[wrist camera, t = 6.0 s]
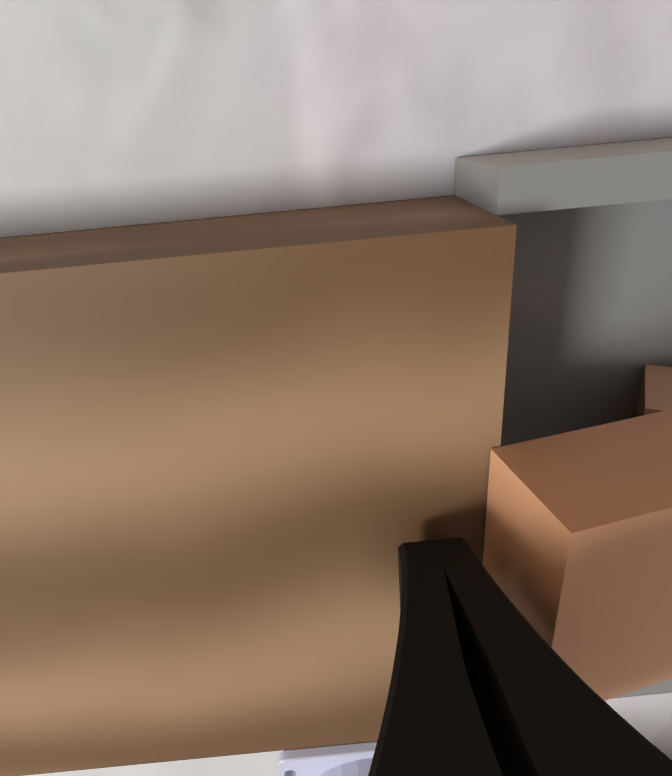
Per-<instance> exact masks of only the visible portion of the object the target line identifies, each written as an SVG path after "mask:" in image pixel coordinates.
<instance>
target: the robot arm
mask: <svg viewBox="0 0 672 776" xmlns="http://www.w3.org/2000/svg"><path fill="white" fill-rule="evenodd" d="M398 565H399V592H400V620H399V631H398V639H397V646H396V652H395V658H394V664H393V671H392V677H391V682H390V687H389V692H388V697H387V702H386V707H385V711H384V715H383V720H382V724H381V728H380V732H379V736H378V740H377V742H368V743H358V744H348V745H337V746H327V747H317V748H307V749H296V750H287V751H283V752H281V753H280V754H279V755H278V757H277V769H278V773H279V776H672V760H671V759H670V758H669V757H667V756H666V755H665V754H664V753H663V752H661V751H660V750H659V749H658V748H656V747H655V746H654V745H653V744H652V743H650V742H649V741H648V740H647V739H646V738H645V737H643V736H642V735H641V734H640V733H639V732H638V731H637V730H636V729H635V728H633V727H632V726H631V725H630V724H629V723H628V722H627V721H626V720H625V719H623V718H622V717H621V716H620V715H619V714H618V713H617V712H616V711H615V710H613V709H612V708H611V707H610V706H609V705H608V704H607V703H606V702H605V701H604V700H603V699H602V698H601V697H600V696H599V695H598V694H597V693H595V692H594V691H593V690H592V689H591V688H590V687H589V686H588V685H587V684H586V683H585V682H584V681H583V680H582V679H581V678H580V677H579V676H578V675H577V674H576V673H575V672H574V671H573V670H572V669H571V668H570V667H569V666H568V665H567V664H566V663H565V661H564V660H563V659H562V658H561V657H560V656H559V655H558V654H557V653H556V652H555V651H554V650H553V649H552V648H551V647H550V646H549V644H548V643H547V642H546V641H545V640H544V639H543V638H542V637H541V636H540V635H539V633H538V632H537V631H536V630H535V629H534V628H533V627H532V626H531V624H530V623H529V622H528V621H527V620H526V619H525V617H524V616H523V615H522V614H521V613H520V611H519V610H518V609H517V608H516V607H515V606H514V604H513V603H512V602H511V601H510V600H509V598H508V597H507V596H506V595H505V594H504V592H503V591H502V590H501V589H500V587H499V586H498V585H497V583H496V582H495V581H494V580H493V578H492V577H491V576H490V574H489V573H488V572H487V570H486V569H485V568H484V566H483V565H482V564H481V562H480V561H479V560H478V558H477V557H476V555H475V554H474V553H473V551H472V550H471V548H470V547H469V545H468V544H467V542H466V541H465V540H464V539H462V538H461V537H459V538H448V539H438V540H427V541H417V542H407V543H402V544H401V545H400V546H399V547H398Z"/></svg>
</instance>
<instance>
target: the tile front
mask: <svg viewBox="0 0 672 776" xmlns="http://www.w3.org/2000/svg"><path fill="white" fill-rule="evenodd" d="M482 565H483V566H484V568H485V569H486V570H487V572H488V573H489V574H490V576H491V577H492V578H493V580H494V581H495V582H496V583H497V585H498V586H499V587H500V589H501V590H502V591H503V592H504V594H505V595H506V596H507V597H508V598H509V600H510V601H511V602H512V603H513V604H514V606H515V607H516V608H517V609H518V610H519V611H520V613H521V614H522V615H523V616H524V617H525V619H526V620H527V621H528V622H529V623H530V624H531V626H532V627H533V628H534V629H535V630H536V631H537V632H538V633H539V635H540V636H541V637H542V638H543V639H544V640H545V641H546V642H547V643H548V644H549V646H550V647H551V648H552V649H553V650H554V651H555V652H556V653H557V654H558V655H559V656H560V657H561V658H562V659H563V660H564V661H565V663H566V664H567V665H568V666H569V667H570V668H571V669H572V670H573V671H574V672H575V673H576V674H577V675H578V676H579V677H580V678H581V679H582V680H583V681H584V682H585V683H586V684H587V685H588V686H589V687H590V688H591V689H592V690H593V691H594V692H595V693H597V694H598V695H599V696H600V697H601V698H602V699H603V700H604V701H605V700H608V699H611V698H614V697H617V696H620V695H623V694H626V693H629V692H632V691H635V690H638V689H641V688H644V687H647V686H650V685H653V684H656V683H659V682H662V681H665V680H668V679H671V678H672V409H671V410H666V411H662V412H657V413H653V414H648V415H644V416H639V417H634V418H630V419H625V420H621V421H616V422H612V423H607V424H602V425H598V426H593V427H589V428H584V429H580V430H575V431H570V432H566V433H561V434H557V435H552V436H548V437H543V438H538V439H534V440H529V441H525V442H520V443H516V444H511V445H506V446H502V447H497V448H493V449H491V454H490V467H489V481H488V495H487V509H486V523H485V537H484V551H483V564H482Z"/></svg>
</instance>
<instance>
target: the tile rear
mask: <svg viewBox="0 0 672 776" xmlns="http://www.w3.org/2000/svg"><path fill="white" fill-rule="evenodd" d="M671 409H672V367H666V366H657V365H648V364H645V368H644V373H643V377H642V382H641V387H640V392H639V396H638V401H637V406H636V411H635V415H634V417H639V416H644V415H648V414H653V413H657V412H662V411H666V410H671Z"/></svg>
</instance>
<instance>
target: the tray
mask: <svg viewBox="0 0 672 776" xmlns="http://www.w3.org/2000/svg"><path fill="white" fill-rule="evenodd" d="M455 196H457V197H459V198H461V199H464V200H466V201H468V202H470V203H472V204H474V205H476V206H478V207H480V208H482V209H484V210H487V211H489V212H491V213H493V214H495V215H497V216H499V217H501V218H503V219H505V220H508V221H510V222H512V223H514V224H516V225H517V229H516V242H515V256H514V269H513V283H512V296H511V310H510V323H509V337H508V350H507V364H506V378H505V391H504V405H503V418H502V432H501V445H500V447H502V446H506V445H511V444H516V443H520V442H525V441H529V440H534V439H538V438H543V437H548V436H552V435H557V434H561V433H566V432H570V431H575V430H580V429H584V428H589V427H593V426H598V425H602V424H607V423H612V422H616V421H621V420H625V419H630V418H634V415H635V411H636V406H637V401H638V396H639V392H640V387H641V382H642V377H643V373H644V368H645V364H648V365H657V366H666V367H672V137H671V138H660V139H649V140H639V141H628V142H617V143H607V144H596V145H585V146H575V147H564V148H553V149H542V150H532V151H521V152H510V153H500V154H489V155H478V156H468V157H457V158H456V162H455ZM662 693H672V678H671V679H668V680H665V681H662V682H659V683H656V684H653V685H650V686H647V687H644V688H641V689H638V690H635V691H632V692H629V693H626V694H623V695H620V696H617V697H614V698H621V697H632V696H642V695H652V694H662Z"/></svg>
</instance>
